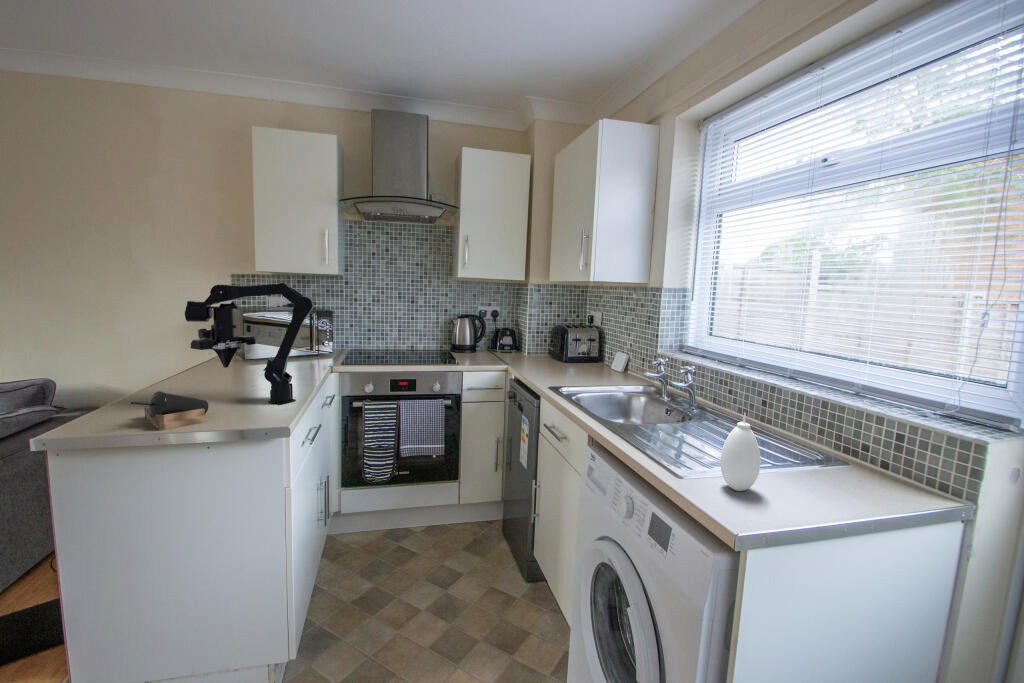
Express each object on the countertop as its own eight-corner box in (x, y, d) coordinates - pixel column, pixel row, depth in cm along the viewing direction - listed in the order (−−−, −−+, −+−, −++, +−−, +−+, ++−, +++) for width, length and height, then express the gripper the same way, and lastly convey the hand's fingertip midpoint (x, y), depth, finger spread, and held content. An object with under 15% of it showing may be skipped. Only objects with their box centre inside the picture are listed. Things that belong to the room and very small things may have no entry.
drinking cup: (212, 393, 141) (141, 386, 123) (211, 417, 139) (138, 414, 121) (195, 397, 144) (123, 391, 126) (194, 421, 142) (121, 418, 124)
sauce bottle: (711, 481, 105) (718, 406, 102) (744, 481, 105) (751, 407, 103) (729, 497, 97) (737, 416, 95) (764, 497, 97) (773, 417, 95)
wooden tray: (188, 411, 145) (188, 399, 144) (205, 422, 135) (204, 409, 135) (145, 419, 136) (144, 406, 136) (159, 430, 126) (158, 416, 126)
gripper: (236, 319, 163) (237, 361, 165) (179, 321, 146) (182, 368, 148) (256, 321, 158) (257, 364, 160) (199, 324, 141) (202, 372, 143)
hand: (225, 367), depth 153 cm, fingers closed
